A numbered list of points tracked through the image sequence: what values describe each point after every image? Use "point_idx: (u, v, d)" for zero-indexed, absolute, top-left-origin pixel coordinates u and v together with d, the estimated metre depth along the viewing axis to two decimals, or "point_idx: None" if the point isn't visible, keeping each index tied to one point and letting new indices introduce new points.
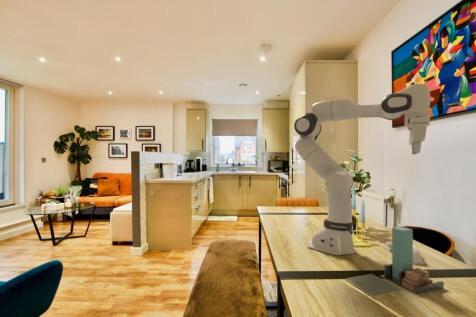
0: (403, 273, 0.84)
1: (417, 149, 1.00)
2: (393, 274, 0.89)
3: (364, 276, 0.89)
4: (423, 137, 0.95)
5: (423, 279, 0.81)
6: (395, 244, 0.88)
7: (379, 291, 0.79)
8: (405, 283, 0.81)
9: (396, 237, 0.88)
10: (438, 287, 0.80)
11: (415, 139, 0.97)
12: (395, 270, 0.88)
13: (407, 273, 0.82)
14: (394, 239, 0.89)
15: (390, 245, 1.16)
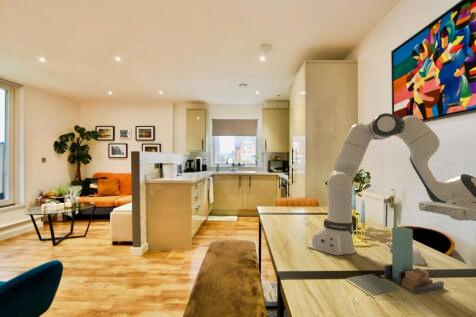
0: (403, 273, 0.84)
1: (455, 213, 0.86)
2: (393, 274, 0.89)
3: (364, 276, 0.89)
4: None
5: (423, 279, 0.81)
6: (395, 244, 0.88)
7: (379, 291, 0.79)
8: (405, 283, 0.81)
9: (396, 237, 0.88)
10: (438, 287, 0.80)
11: None
12: (395, 270, 0.88)
13: (407, 273, 0.82)
14: (394, 239, 0.89)
15: (390, 245, 1.16)
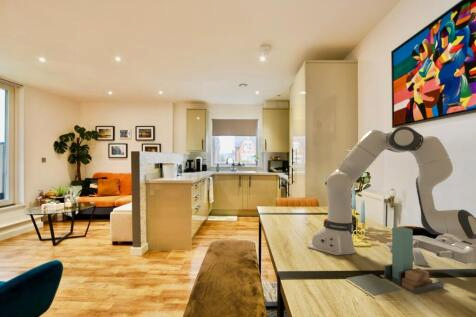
0: (403, 273, 0.84)
1: (443, 254, 0.85)
2: (393, 274, 0.89)
3: (364, 276, 0.89)
4: (467, 262, 0.82)
5: (423, 279, 0.81)
6: (395, 244, 0.88)
7: (379, 291, 0.79)
8: (405, 283, 0.81)
9: (396, 237, 0.88)
10: (438, 287, 0.80)
11: (464, 254, 0.82)
12: (395, 270, 0.88)
13: (407, 273, 0.82)
14: (394, 239, 0.89)
15: (391, 246, 1.15)
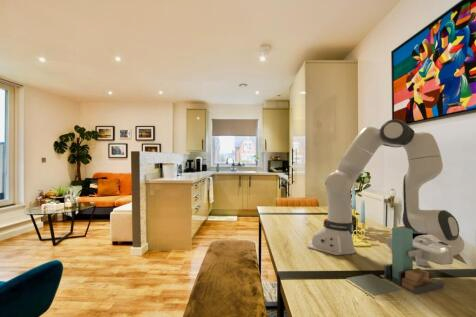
0: (403, 273, 0.84)
1: (412, 253, 0.85)
2: (393, 274, 0.89)
3: (364, 276, 0.89)
4: (441, 263, 0.80)
5: (423, 279, 0.81)
6: (395, 244, 0.88)
7: (379, 291, 0.79)
8: (405, 283, 0.81)
9: (396, 237, 0.88)
10: (438, 287, 0.80)
11: (439, 255, 0.81)
12: (395, 270, 0.88)
13: (407, 273, 0.82)
14: (394, 239, 0.89)
15: None
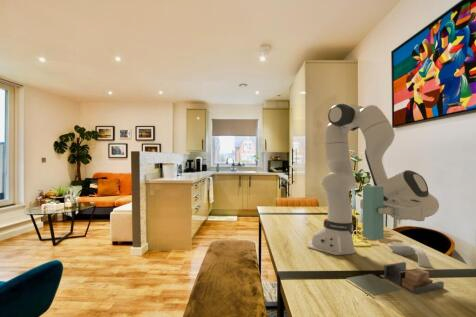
0: (403, 273, 0.84)
1: (382, 210, 0.81)
2: (364, 234, 0.85)
3: (364, 276, 0.89)
4: (411, 218, 0.76)
5: (423, 279, 0.81)
6: (365, 202, 0.84)
7: (379, 291, 0.79)
8: (405, 283, 0.81)
9: (366, 195, 0.84)
10: (438, 287, 0.80)
11: (408, 210, 0.77)
12: (365, 229, 0.84)
13: (407, 273, 0.82)
14: (364, 197, 0.85)
15: (393, 247, 1.14)
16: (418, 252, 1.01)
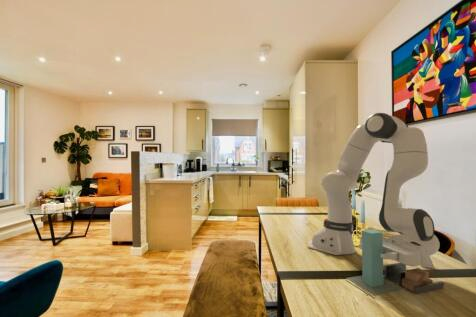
0: (403, 273, 0.84)
1: (387, 256, 0.79)
2: (364, 280, 0.84)
3: None
4: (411, 264, 0.76)
5: (423, 279, 0.81)
6: (365, 248, 0.84)
7: (379, 291, 0.79)
8: (405, 283, 0.81)
9: (365, 241, 0.84)
10: (438, 287, 0.80)
11: (408, 256, 0.76)
12: (365, 275, 0.84)
13: (407, 273, 0.82)
14: (364, 242, 0.85)
15: None
16: None
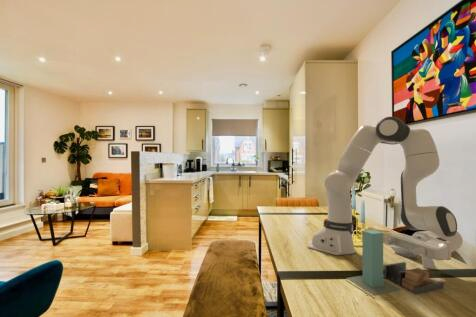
0: (403, 273, 0.84)
1: (416, 251, 0.83)
2: (364, 280, 0.84)
3: None
4: (439, 259, 0.80)
5: (423, 279, 0.81)
6: (365, 248, 0.84)
7: (379, 291, 0.79)
8: (405, 283, 0.81)
9: (366, 241, 0.84)
10: (438, 287, 0.80)
11: (437, 251, 0.80)
12: (365, 275, 0.84)
13: (407, 273, 0.82)
14: (364, 243, 0.84)
15: (396, 248, 1.12)
16: None
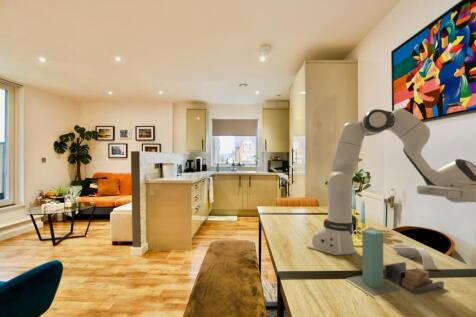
0: (403, 273, 0.84)
1: (452, 194, 0.88)
2: (364, 280, 0.84)
3: None
4: (475, 199, 0.85)
5: (423, 279, 0.81)
6: (365, 248, 0.84)
7: (379, 291, 0.79)
8: (405, 283, 0.81)
9: (366, 241, 0.84)
10: (438, 287, 0.80)
11: (472, 191, 0.85)
12: (365, 275, 0.84)
13: (407, 273, 0.82)
14: (364, 243, 0.84)
15: (397, 248, 1.12)
16: (423, 254, 0.99)
